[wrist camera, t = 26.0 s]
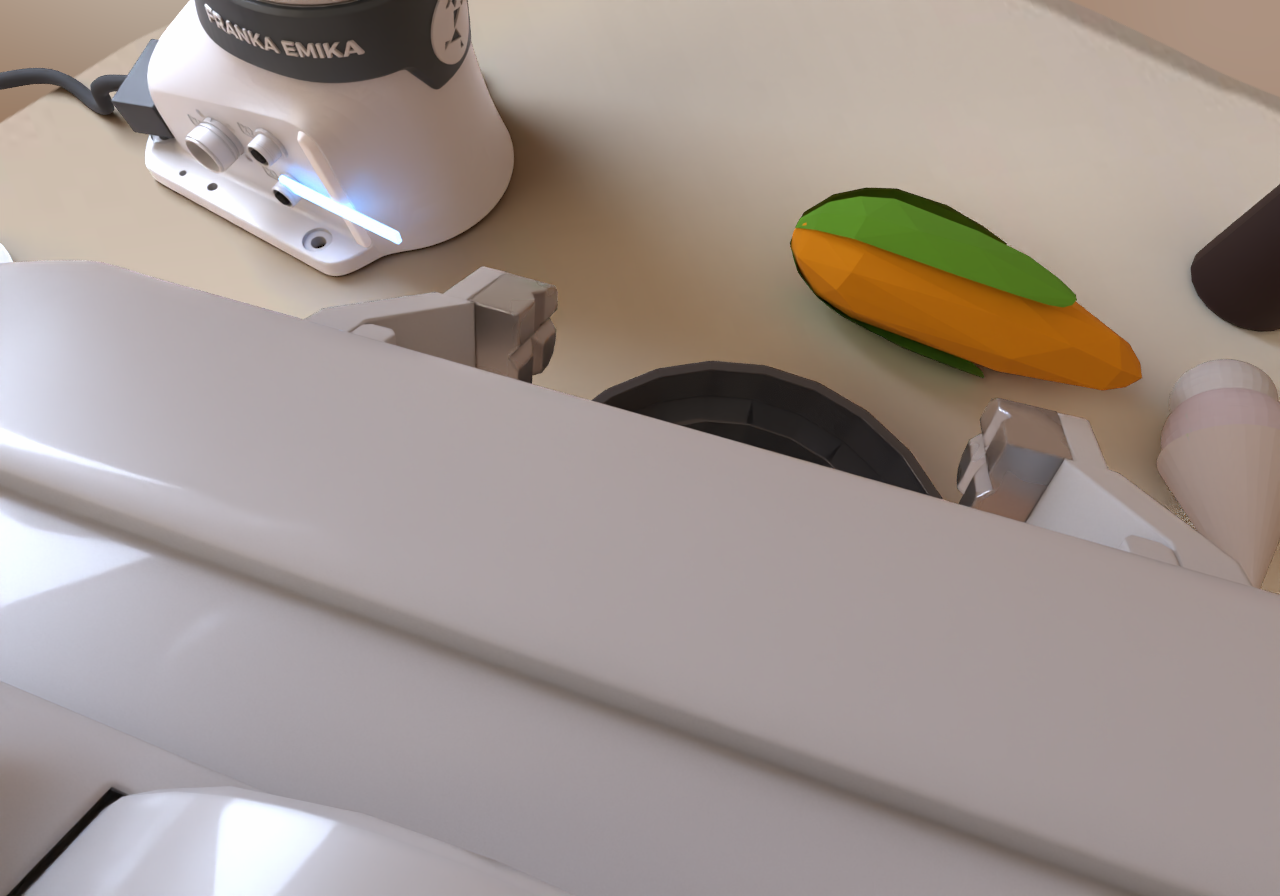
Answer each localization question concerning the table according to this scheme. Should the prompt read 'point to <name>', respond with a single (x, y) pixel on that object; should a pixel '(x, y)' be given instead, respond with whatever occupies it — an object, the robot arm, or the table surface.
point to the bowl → (773, 417)
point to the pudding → (4, 255)
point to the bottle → (1244, 268)
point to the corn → (952, 291)
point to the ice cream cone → (1227, 459)
